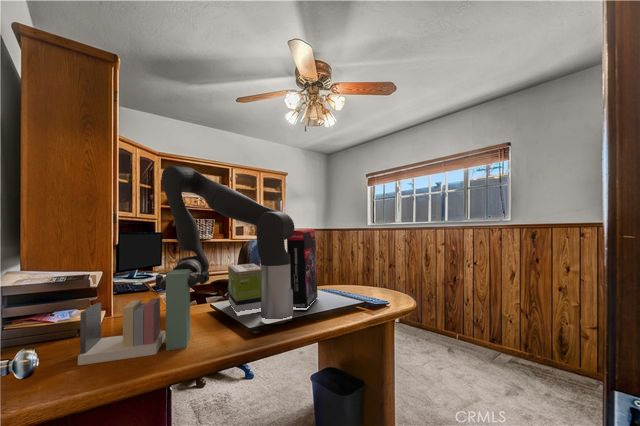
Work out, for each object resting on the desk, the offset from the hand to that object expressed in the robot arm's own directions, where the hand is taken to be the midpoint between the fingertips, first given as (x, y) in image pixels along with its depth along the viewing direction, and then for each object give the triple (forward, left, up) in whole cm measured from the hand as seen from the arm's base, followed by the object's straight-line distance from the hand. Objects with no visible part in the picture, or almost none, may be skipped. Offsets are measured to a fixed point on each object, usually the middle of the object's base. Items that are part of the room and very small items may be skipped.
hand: (177, 284), depth 72 cm
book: (0, -2, -15) cm, 15 cm away
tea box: (-18, -26, -15) cm, 35 cm away
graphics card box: (-38, -23, -15) cm, 47 cm away
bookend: (+19, -2, -13) cm, 23 cm away
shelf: (+11, -2, -15) cm, 19 cm away
